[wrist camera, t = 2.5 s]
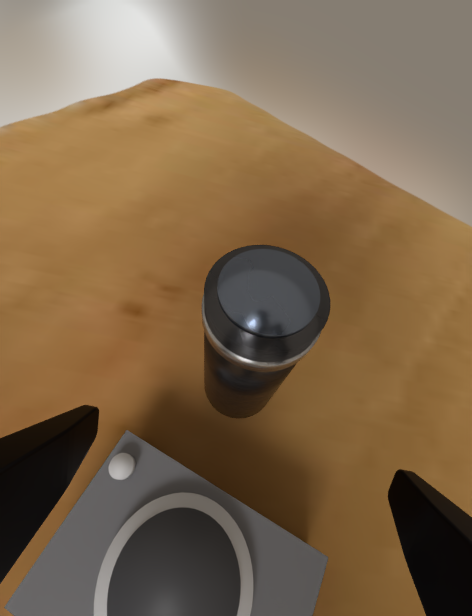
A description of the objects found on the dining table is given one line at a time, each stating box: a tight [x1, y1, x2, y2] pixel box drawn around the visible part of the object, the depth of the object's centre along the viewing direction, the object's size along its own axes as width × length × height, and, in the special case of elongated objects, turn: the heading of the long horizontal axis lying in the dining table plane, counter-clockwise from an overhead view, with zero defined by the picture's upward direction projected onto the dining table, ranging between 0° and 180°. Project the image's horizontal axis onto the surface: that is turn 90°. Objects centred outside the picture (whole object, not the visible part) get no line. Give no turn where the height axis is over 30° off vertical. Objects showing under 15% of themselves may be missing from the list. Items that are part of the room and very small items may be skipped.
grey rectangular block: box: [4, 430, 328, 616], centre depth 14 cm, size 12×8×4 cm, turn 62°
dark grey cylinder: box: [202, 245, 330, 418], centre depth 17 cm, size 5×5×12 cm
